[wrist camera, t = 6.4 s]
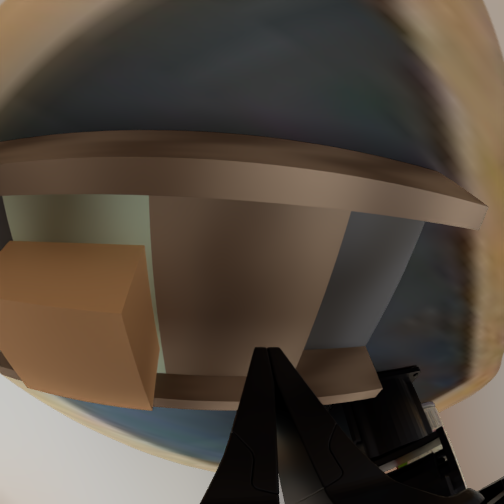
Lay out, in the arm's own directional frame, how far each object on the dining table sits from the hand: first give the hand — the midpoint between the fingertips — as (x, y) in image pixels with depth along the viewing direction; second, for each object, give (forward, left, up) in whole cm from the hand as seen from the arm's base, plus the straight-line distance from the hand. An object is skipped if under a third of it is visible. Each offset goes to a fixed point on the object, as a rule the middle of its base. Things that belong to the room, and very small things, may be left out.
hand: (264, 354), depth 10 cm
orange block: (+7, 0, -2) cm, 8 cm away
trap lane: (+3, 0, -4) cm, 6 cm away
